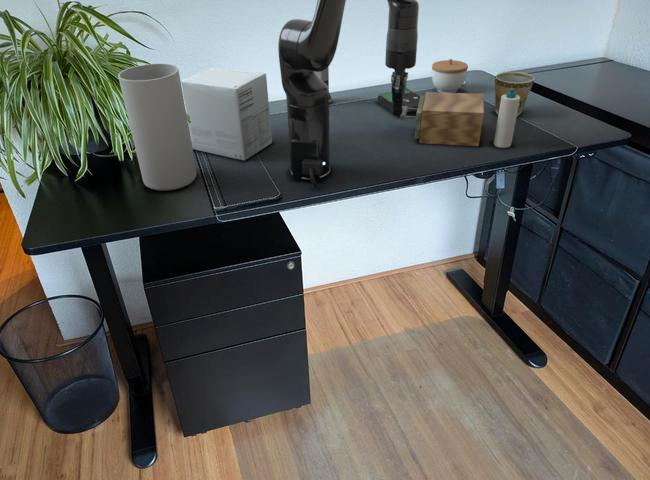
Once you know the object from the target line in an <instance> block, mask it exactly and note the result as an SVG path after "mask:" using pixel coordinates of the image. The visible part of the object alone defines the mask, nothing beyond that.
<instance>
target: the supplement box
mask: <svg viewBox="0 0 650 480" xmlns="http://www.w3.org/2000/svg"><path fill="white" fill-rule="evenodd" d="M180 81H181V86H182V92H183V98H184V104H185V109H186V115H187V114H188V115H189V116H190V121H191V123H190V124H189V123H188V127H189V133H190V138H191V144H192V150H193V151H194V150H195V151H200V152H204V153H208V154H212V155H213V154H214V155H218V156H222V157H226V158H231V159H235V160H240V161H247V160H248V159H250V158H251V157H252V156H254V155H256V154H257V153H258V152H260V151H262V150H264V149H265V148H266V147H268V146H269V145H271V144H272V143H273V138H272V124H271V114H270V113H271V112H270V101H269V91H268V80H267V73H265V72H253V71H246V70H237V69H228V68H220V67H211V68H209V69H206V70H203V71H201V72H199V73H196V74H194V75H192V76H189V77H187V78H185V79H182V80H180Z"/></svg>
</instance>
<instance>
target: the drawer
mask: <svg viewBox="0 0 650 480" xmlns="http://www.w3.org/2000/svg"><path fill="white" fill-rule="evenodd" d="M419 96H420V100H419V105H418V108H408V107H407V106H404V107H403V110H402V113H401V116H400V117H399V119H400V120H401V121H405V120H408V119H409V120H415V127H414V139H415V140H416V139H418V140H420V130H421V119H422V109H423V104H424V100H425V95H419ZM407 111H417V113H416V114H415V115H409V116H406V115H407Z"/></svg>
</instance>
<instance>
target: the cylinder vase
mask: <svg viewBox="0 0 650 480" xmlns="http://www.w3.org/2000/svg"><path fill="white" fill-rule="evenodd" d="M117 77H118V81H119V86H120V91H121V95H122V98H123V103H124V106H125V112H126V116H127V119H128V123H129V128H130V133H131V136H132V140H133V144H134V145H133V146H134V149H135V153H136V157H137V162H138V165H139V170H140V174H141V179H142V182H143V185H144V186H145V187H146V188H149V189H150V190H153V191H161V192H168V191H174V190H179V189H182V188H184V187H187V186H189V185H190V184H192V183H193V182H194V181H195V180H196V178H197V168H196V163H195V156H194V150H193V148H192V142H191V136H190V130H189V125H188V119H187V113H186V107H185V101H184V95H183V89H182V84H181V81H182V80H181V75H180V69H179V67H178V66H177V65H175V64H170V63H147V64H140V65H135V66H132V67H128V68H126V69H124V70H121V71H120V72H119V73H118V74H117Z"/></svg>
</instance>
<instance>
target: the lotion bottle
mask: <svg viewBox="0 0 650 480" xmlns="http://www.w3.org/2000/svg"><path fill="white" fill-rule="evenodd" d="M519 101H520V96H518V95H516V92H514V89H510V91H508V92H507V94H505V95H502V97H501V103H500V108H499V114H497V121H496V126H495V132H494V138H493V146H495V147H496V148H501V149H505V148H511V146H512V141H513V136H514V132H515V126H516V122H517V117H518V116H517V112H518V106H519Z"/></svg>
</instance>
